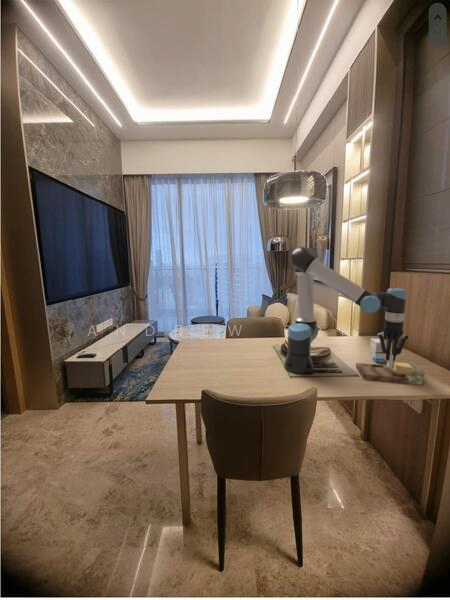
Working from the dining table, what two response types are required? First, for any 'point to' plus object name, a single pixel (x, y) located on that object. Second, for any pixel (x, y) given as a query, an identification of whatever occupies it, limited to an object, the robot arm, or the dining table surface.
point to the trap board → (390, 373)
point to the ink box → (376, 351)
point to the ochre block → (403, 368)
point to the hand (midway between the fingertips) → (389, 366)
